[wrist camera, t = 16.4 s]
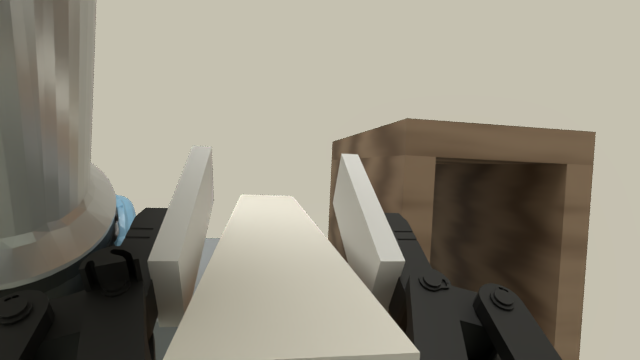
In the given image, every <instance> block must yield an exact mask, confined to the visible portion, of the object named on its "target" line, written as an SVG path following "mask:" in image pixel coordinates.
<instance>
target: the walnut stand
mask: <svg viewBox="0 0 640 360" xmlns="http://www.w3.org/2000/svg"><path fill="white" fill-rule="evenodd" d="M595 133H596V132H588V131H574V130H560V129H546V128H533V127H519V126H505V125H491V124H478V123H464V122H450V121H436V120H422V119H409V118H407V119H404V120H400V121H397V122H394V123H391V124H388V125H384V126H381V127H379V128H375V129H372V130H369V131H365V132H363V133H359V134H356V135H353V136H350V137H346V138H343V139H340V140H337V141H334V142H333V145H332V168H331V188H330V209H329V231H328V240H329V241H330V243H331V244H332V245H333V246H334V247H335V249H336V250H337V251H338V252H339V254H340V255H341V256H342V257H343V258H344V260H345V261H346V262H347V263H348V261H347V257H346V253H345V249H344V245H343V241H342V238H341V234H340V230H339V226H338V222H337V218H336V214H335V210H334V206H333V199H334V193H335V187H336V182H337V176H338V170H339V165H340V159H341V154H358V156H359V158H360V160H361V162H362V165H363V167H364V169H365V171H366V174H367V176H368V178H369V180H370V183H371V185H372V187H373V189H374V192H375V194H376V196H377V198H378V201H379V203H380V205H381V207H382V210H383V212H384V213H399V214H400V215H401V216H402V217H403V218H404V219H406V220H407V221H408V223H409V225H410V227H411V229H412V231H413V233H414V234H415V236H416V238H417V241H418V242H419V244H420V246H421V248H422V250H423V252H424V254H425V256H426V258H427V259H428V261H429V263H430V265H431V267H432V269H435V270H437V271H439V272H441V273H442V274H444V275H445V276H446V277H447V278H448V279H449V280H450V282H451V285H452V286H455V287H458V288H462V289H466V290H470V291H474V292H478V291H479V289H480V287H482V286H483V285H484V284H489V283H493V284H499V285H501V286H504V287H506V288H508V289H510V290H511V291H512V292H514V293H515V294H516V295H517V296H518V297H519V298H520V299H521V300H522V301H523V303H524V304H525V306H526V307H527V309H528V310H529V312H530V313H531V315H532V316H533V318H534V319H535V320H536V322H537V323H538V325H539V326H540V328H541V329H542V331H543V332H544V334H545V335H546V337H547V338H548V340H549V341H550V342H551V344H552V345H553V347H554V348H555V350H556V351H557V353H558V354H559V356H560V357H561V359H562V360H579V352H580V339H581V325H582V311H583V297H584V284H585V270H586V256H587V242H588V229H589V215H590V202H591V188H592V174H593V161H594V146H595ZM388 314H389V315H390V316H391V314H390V311H388Z"/></svg>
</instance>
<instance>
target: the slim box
mask: <svg viewBox="0 0 640 360" xmlns="http://www.w3.org/2000/svg"><path fill="white" fill-rule="evenodd" d="M163 360H420V352H419V351H418V349H417V348H416V347H415V346H414V344H413V343H412V342H411V341H410V340H409V338H408V337H407V336H406V335H405V333H404V332H403V331H402V330H401V328H400V327H399V326H398V325H397V324H396V322H395V321H394V320H393V319H392V317H391V316H390V315H389V314H388V313H387V311H386V310H385V309H384V308H383V306H382V305H381V304H380V303H379V301H378V300H377V299H376V298H375V297H374V295H373V294H372V293H371V292H370V290H369V289H368V288H367V287H366V285H365V284H364V283H363V282H362V281H361V279H360V278H359V277H358V276H357V274H356V273H355V272H354V271H353V270H352V268H351V267H350V266H349V265H348V263H347V262H346V261H345V260H344V258H343V257H342V256H341V255H340V254H339V252H338V251H337V250H336V249H335V247H334V246H333V245H332V244H331V243H330V241H329V240H328V239H327V238H326V236H325V235H324V234H323V233H322V231H321V230H320V229H319V228H318V227H317V225H316V224H315V223H314V222H313V220H312V219H311V218H310V217H309V216H308V214H307V213H306V212H305V211H304V209H303V208H302V207H301V206H300V204H299V203H298V202H297V201H296V200H295V198H294V197H293V196H274V195H273V196H272V195H241V196H240V198H239V200H238V202H237V204H236V206H235V209H234V210H233V212H232V215H231V217H230V219H229V221H228V223H227V225H226V227H225V229H224V232H223V234H222V236H221V238H220V240H219V242H218V244H217V246H216V248H215V250H214V253H213V255H212V257H211V259H210V261H209V263H208V265H207V267H206V269H205V272H204V274H203V276H202V278H201V280H200V282H199V284H198V286H197V288H196V291H195V293H194V295H193V297H192V299H191V301H190V303H189V305H188V307H187V310H186V312H185V314H184V316H183V318H182V320H181V322H180V324H179V326H178V329H177V331H176V333H175V335H174V337H173V339H172V341H171V343H170V345H169V348H168V350H167V352H166V354H165V356H164V358H163Z"/></svg>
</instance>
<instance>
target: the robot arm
mask: <svg viewBox="0 0 640 360" xmlns="http://www.w3.org/2000/svg"><path fill="white" fill-rule="evenodd" d="M95 24H96V0H0V360H156V354H155V338H154V333H153V330H154V326H155V323H156V320H157V317H158V323H159V327H178V326H179V324H180V322H181V320H182V318H183V316H184V314H185V312H186V310H187V307H188V305H189V303H190V301H191V299H192V297H193V292H194V288H195V283H196V278H197V274H198V269H199V265H200V260H201V256H202V251H203V247H204V242H205V238H206V233H207V229H208V224H209V219H210V215H211V210H212V205H213V201H214V193H213V171H212V170H213V168H212V147H208V146H207V147H206V146H192V149H191V151H190V154H189V156H188V159H187V161H186V164H185V166H184V169H183V171H182V174H181V177H180V179H179V182H178V184H177V187H176V190H175V192H174V195H173V197H172V200H171V202H170V205H169V207H168V208H145V209H144V210H143V211H142V212H140V213H139V214H138V215H137V216H136V214H135V210H134V207H133V204H132V203H131V201H130V200H129V199H128V198H126V197H124V196H118V195H116V194H115V192H114V190H113V187H112V185H111V183H110V181H109V179H108V178H107V177H106V175H105V174H104V173H103V172H102V171H101V170H100V169H99V168H98V167H96V166H95V165H94V164H92V163H91V135H92V108H93V79H94V52H95ZM333 206H334V210H335V214H336V218H337V222H338V226H339V230H340V234H341V238H342V241H343V245H344V249H345V253H346V257H347V261H348V265H349V266H350V267H351V268H352V270H353V271H354V272H355V273H356V274H357V276H358V277H359V278H360V279H361V281H362V282H363V283H364V284H365V285H366V287H367V288H368V289H369V290H370V292H371V293H372V294H373V295H374V297H375V298H376V299H377V300H378V301H379V303H380V304H381V305H382V306H383V308H384V309H385V310H386V311H387V313H388V311H390V314H391V317H392V319H393V320H394V321H395V322H396V324H397V325H398V326H399V327H400V328H401V330H402V331H403V332H404V333H405V335H406V336H407V337H408V338H409V340H410V341H411V342H412V343H413V344H414V346H415V347H416V348H417V349H418V351H419V352H420V360H562V359H561V357H560V356H559V354H558V353H557V351H556V350H555V348H554V347H553V345H552V344H551V342H550V341H549V340H548V338H547V337H546V335H545V334H544V332H543V331H542V329H541V328H540V326H539V325H538V323H537V322H536V320H535V319H534V318H533V316H532V315H531V313H530V312H529V310H528V309H527V307H526V306H525V304H524V303H523V301H522V300H521V299H520V298H519V297H518V296H517V295H516V294H515V293H514V292H512V291H511V290H510V289H508V288H506V287H504V286H501V285H499V284H493V283H489V284H484V285H483V286H482V287H480V289H479V291H478V292H474V291H470V290H466V289H462V288H458V287H455V286H452V285H451V282H450V280H449V279H448V278H447V277H446V276H445V275H444V274H442V273H441V272H439V271H437V270H435V269H432V267H431V265H430V263H429V261H428V259H427V258H426V256H425V254H424V252H423V250H422V248H421V246H420V244H419V242H418V241H417V238H416V236H415V234H414V233H413V231H412V229H411V227H410V225H409V223H408V221H407V220H406V219H404V218H403V217H402V216H401V215H400V214H399V213H384V212H383V210H382V207H381V205H380V203H379V201H378V198H377V196H376V194H375V192H374V189H373V187H372V185H371V183H370V180H369V178H368V176H367V174H366V171H365V169H364V167H363V165H362V162H361V160H360V158H359V156H358V154H341V159H340V165H339V170H338V176H337V182H336V187H335V193H334V199H333Z"/></svg>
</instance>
